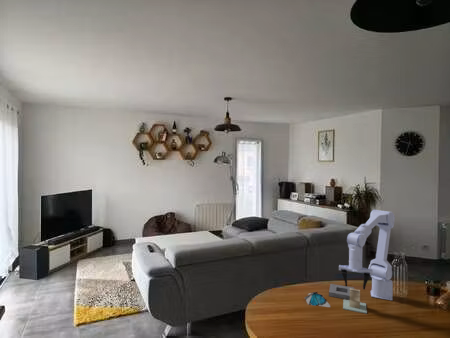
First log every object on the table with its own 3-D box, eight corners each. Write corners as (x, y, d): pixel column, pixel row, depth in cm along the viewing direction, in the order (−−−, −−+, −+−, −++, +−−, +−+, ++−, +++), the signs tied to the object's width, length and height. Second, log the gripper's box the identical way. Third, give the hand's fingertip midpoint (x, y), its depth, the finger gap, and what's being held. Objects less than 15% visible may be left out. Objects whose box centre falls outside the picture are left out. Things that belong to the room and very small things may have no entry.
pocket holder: (354, 291, 157) (354, 287, 157) (354, 300, 146) (354, 296, 146) (330, 287, 161) (330, 283, 161) (328, 296, 150) (328, 292, 150)
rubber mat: (365, 304, 142) (365, 303, 142) (366, 313, 133) (366, 312, 133) (343, 300, 146) (343, 299, 146) (342, 309, 136) (342, 308, 136)
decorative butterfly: (301, 290, 148) (321, 285, 148) (304, 302, 148) (324, 298, 148) (306, 299, 138) (327, 294, 138) (310, 312, 138) (330, 307, 138)
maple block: (359, 304, 140) (359, 289, 140) (359, 308, 136) (360, 293, 136) (349, 302, 142) (349, 288, 142) (349, 306, 138) (349, 291, 138)
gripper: (338, 258, 138) (338, 287, 138) (373, 263, 132) (372, 293, 133) (339, 254, 145) (338, 282, 145) (372, 258, 139) (371, 287, 139)
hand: (355, 287), depth 139 cm, fingers open, 7 cm apart
